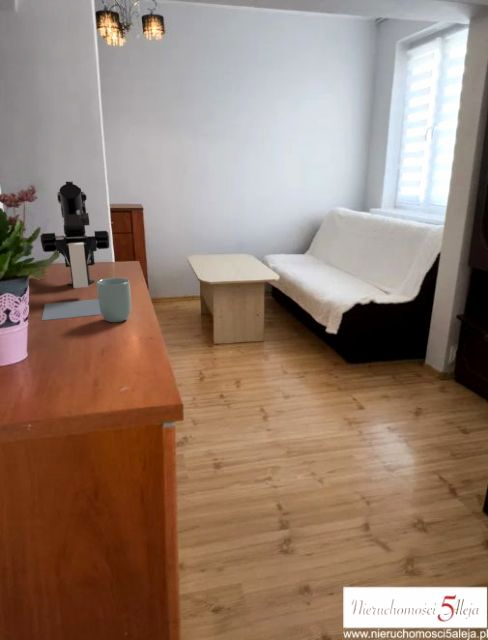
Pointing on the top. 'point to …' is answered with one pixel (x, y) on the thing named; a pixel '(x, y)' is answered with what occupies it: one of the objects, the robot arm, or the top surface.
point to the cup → (114, 299)
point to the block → (78, 265)
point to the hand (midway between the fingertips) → (78, 264)
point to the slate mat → (71, 309)
